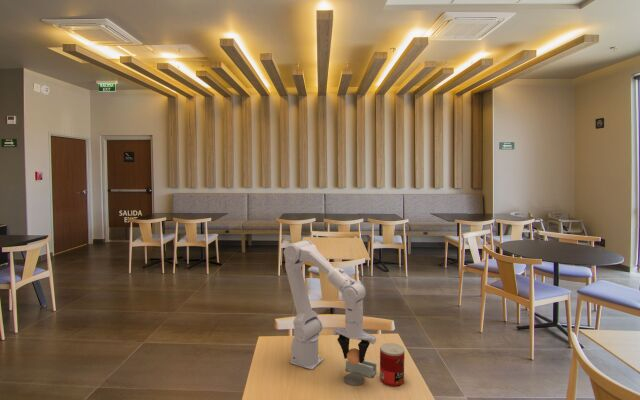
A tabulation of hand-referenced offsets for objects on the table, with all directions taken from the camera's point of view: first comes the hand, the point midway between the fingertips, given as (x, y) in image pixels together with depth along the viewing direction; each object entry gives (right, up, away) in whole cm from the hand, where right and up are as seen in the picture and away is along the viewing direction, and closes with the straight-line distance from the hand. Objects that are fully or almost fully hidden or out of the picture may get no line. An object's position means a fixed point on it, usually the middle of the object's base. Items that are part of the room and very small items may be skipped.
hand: (354, 359), depth 125 cm
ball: (0, -2, 0) cm, 2 cm away
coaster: (0, -7, +1) cm, 7 cm away
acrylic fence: (+3, -7, +6) cm, 9 cm away
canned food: (+13, -7, 0) cm, 14 cm away
